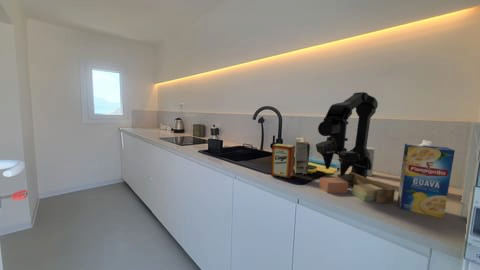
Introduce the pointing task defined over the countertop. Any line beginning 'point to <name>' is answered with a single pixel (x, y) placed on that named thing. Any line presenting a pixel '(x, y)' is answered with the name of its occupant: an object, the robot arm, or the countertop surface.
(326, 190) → the reddish brown block
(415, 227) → the countertop surface
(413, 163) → the beverage box
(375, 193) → the pale green block
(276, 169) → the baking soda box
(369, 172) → the skincare box
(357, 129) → the robot arm
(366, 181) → the shelf wall
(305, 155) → the grey drink carton
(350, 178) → the bookend
